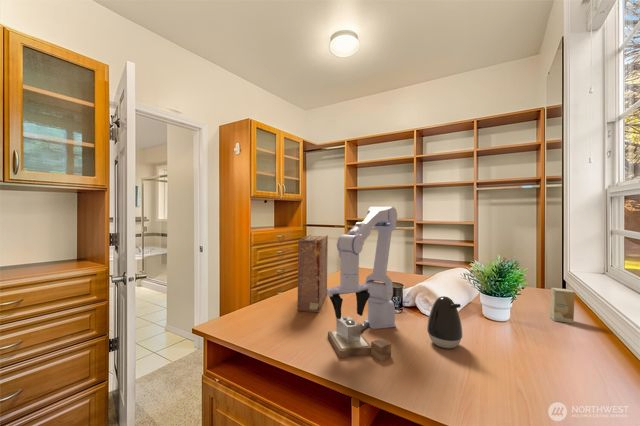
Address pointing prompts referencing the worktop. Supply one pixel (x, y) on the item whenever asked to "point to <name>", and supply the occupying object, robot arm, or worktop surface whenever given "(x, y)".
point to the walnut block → (381, 349)
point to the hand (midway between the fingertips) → (349, 316)
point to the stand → (349, 346)
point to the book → (312, 272)
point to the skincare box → (562, 305)
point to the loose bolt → (364, 325)
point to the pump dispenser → (445, 323)
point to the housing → (348, 330)
